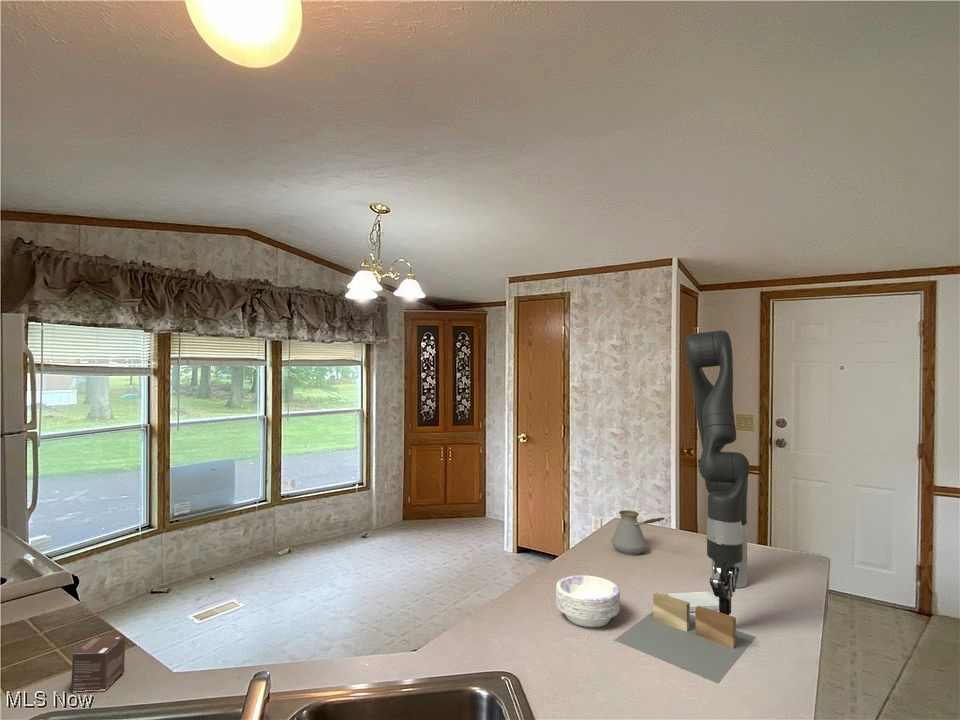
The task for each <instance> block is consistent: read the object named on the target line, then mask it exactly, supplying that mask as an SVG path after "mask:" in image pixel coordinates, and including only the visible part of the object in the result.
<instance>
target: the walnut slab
mask: <svg viewBox="0 0 960 720" xmlns="http://www.w3.org/2000/svg"><path fill="white" fill-rule="evenodd" d="M694 613H695V614H694V616H695V618H696V635H697V636H700V637H703V638H705V639H708V640H711V641H714V642H717V643H719V644H722V645H725V646H728V647H730V648H734V647H735V646H736V630H737V617H735V616H732V615H731V614H729V615H727V614H723V613H720V612H719V611H718V610H711V609H708V608H705V607H702V606H697V607H696V608H695V612H694Z"/></svg>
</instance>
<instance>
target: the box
mask: <svg viewBox="0 0 960 720" xmlns="http://www.w3.org/2000/svg"><path fill="white" fill-rule="evenodd" d="M125 652H126V636H125V635H120V636H119V635H118V636H117V635H116V636H94V637H92V638H91V639H90V640H89V641H87V642H86V643H85V644H83V645H82V646H81V647H79V648H78V649H77V650H75V652H73V653H72V663H71V683H70V684H71V686H70V688H71V689H70V693H71V692H73V691H85V690H100V689H106V688H107V687H108V686H109V685H110V684H111V683H112V682H113V681H115V680H116V679H117V678H118V677H119V676H120V675H121V674H122V673H123V672H124V673H125V659H126V658H125ZM124 673H123V674H124ZM123 674H122V675H123ZM122 675H121V676H122ZM121 676H120V677H121ZM120 677H119V678H120ZM119 678H118V679H119ZM118 679H117V680H118ZM117 680H116V681H117ZM116 681H115V682H116Z"/></svg>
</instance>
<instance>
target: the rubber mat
mask: <svg viewBox="0 0 960 720" xmlns="http://www.w3.org/2000/svg"><path fill="white" fill-rule="evenodd" d="M756 638H757V636H755V635H752V634H749V633H746V632H744V631H740V630H737V629H736V646H735V647H734V648H730V647H728V646H725V645H722V644H719V643H717V642H714V641H711V640H708V639H705V638H703V637H700V636H697V635H696V618H695V615H693V614H690V629H689V630H688V631H687V632H686V631H683V630H681V629H678V628H675V627H672V626H670V625H667V624H664V623H661V622H659V621H656V620H653V611H651V612H650V613H648V614H647V615H646V616H645V617H643V618H642V619H640V620H639V621H637V622H636V623H635V624H633V626H631V627H629V628H628V629H627V630H626V631H624V632H623V633H621V635H619V636H617V637H616V638H615V639H614V641H615V642H618V643H620V644H622V645H624V646H627V647H629V648H632V649H634V650H637V651H639V652H642V653H644V654H646V655H648V656H651V657H654V658H656V659H658V660H660V661H663V662H666V663H667V664H671V665H673V666H675V667H678V668H679V669H682V670H685V671H687V672H689V673H692V674H693V675H697V676H699V677H702V678H703V679H707V680H709V681H711V682H714V683H716V684H719V683H720V682H721V681H722V680H723V678H724V677H725V676H726V675H727V673H728V672H729V671H730V670H731V668H732V667H733V666H734V665H735V663H736V662H737V661H738V660H739V659H740V657H741V656H742V655H743V654H744V653H745V651H746V650H747V649H748V648H749V646H750V645H752V643H753V642H754V640H755V639H756Z"/></svg>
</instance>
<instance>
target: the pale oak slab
mask: <svg viewBox="0 0 960 720" xmlns="http://www.w3.org/2000/svg"><path fill="white" fill-rule="evenodd" d="M652 595H653V596H652V597H653V599H652V600H653V601H652V603H653V605H652V609H653V610H652V612H653V620H656V621H659V622H661V623H664V624H667V625H670V626H672V627H675V628H678V629H681V630H683V631H686V632H687V631H688V630H689V629H690V615H691V612H690V603H689V602H686V601H683V600H680V599H677V598H674V597H670V596H667V595H666V594H664V593H661V592H658V591H656V592H655V593H653V594H652Z"/></svg>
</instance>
